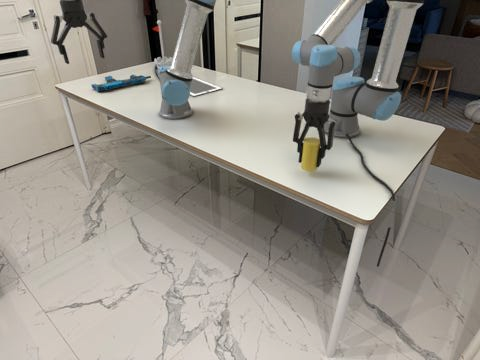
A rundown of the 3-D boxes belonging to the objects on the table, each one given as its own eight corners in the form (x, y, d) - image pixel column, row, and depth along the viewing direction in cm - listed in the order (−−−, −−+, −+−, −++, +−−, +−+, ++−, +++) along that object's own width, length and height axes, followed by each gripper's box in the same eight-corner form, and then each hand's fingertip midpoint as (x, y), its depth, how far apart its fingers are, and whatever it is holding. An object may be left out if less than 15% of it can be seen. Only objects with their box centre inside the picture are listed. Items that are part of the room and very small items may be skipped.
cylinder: (320, 166, 119) (324, 140, 114) (312, 172, 115) (315, 146, 110) (306, 161, 122) (309, 135, 117) (297, 167, 118) (300, 141, 113)
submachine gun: (137, 69, 223) (155, 75, 206) (138, 75, 225) (156, 81, 208) (84, 79, 204) (99, 87, 188) (85, 85, 206) (101, 94, 190)
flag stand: (171, 63, 246) (167, 18, 230) (175, 68, 236) (170, 21, 220) (153, 65, 242) (147, 19, 226) (156, 70, 232) (150, 22, 216)
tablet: (164, 83, 207) (164, 82, 207) (191, 76, 218) (191, 76, 218) (193, 96, 187) (193, 95, 187) (222, 88, 198) (222, 88, 198)
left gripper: (35, 2, 112) (54, 67, 124) (108, -3, 125) (119, 56, 137) (29, 0, 117) (48, 63, 128) (100, -4, 130) (112, 53, 142)
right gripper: (285, 97, 106) (280, 161, 119) (344, 108, 99) (332, 175, 111) (294, 90, 112) (288, 152, 125) (351, 100, 104) (339, 165, 117)
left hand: (85, 60), depth 133 cm, fingers open, 13 cm apart
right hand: (309, 163), depth 118 cm, fingers closed on cylinder, 6 cm apart
